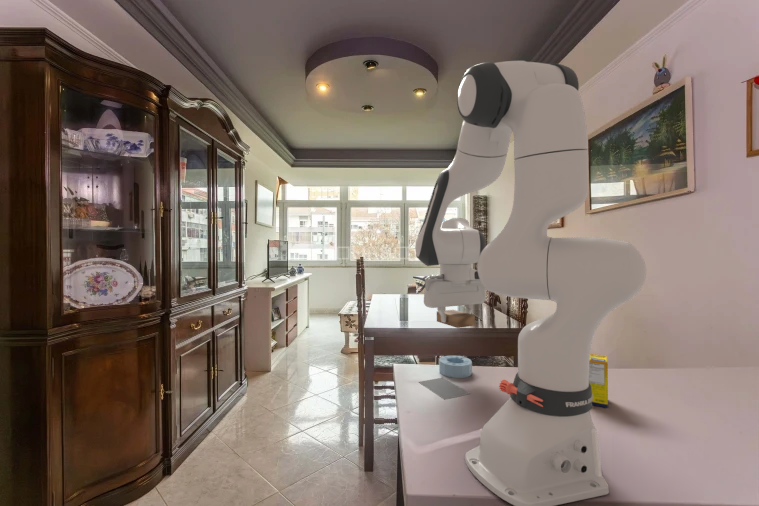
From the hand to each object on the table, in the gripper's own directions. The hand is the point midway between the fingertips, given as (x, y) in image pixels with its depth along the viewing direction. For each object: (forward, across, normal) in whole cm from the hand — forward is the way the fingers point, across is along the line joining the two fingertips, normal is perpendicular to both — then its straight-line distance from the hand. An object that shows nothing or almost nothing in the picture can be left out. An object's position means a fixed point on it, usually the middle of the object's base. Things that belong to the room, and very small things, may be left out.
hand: (455, 320), depth 100 cm
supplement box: (+16, +20, -28) cm, 38 cm away
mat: (+16, -10, -8) cm, 21 cm away
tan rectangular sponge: (+1, 0, 0) cm, 1 cm away
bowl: (+16, 0, 0) cm, 16 cm away
